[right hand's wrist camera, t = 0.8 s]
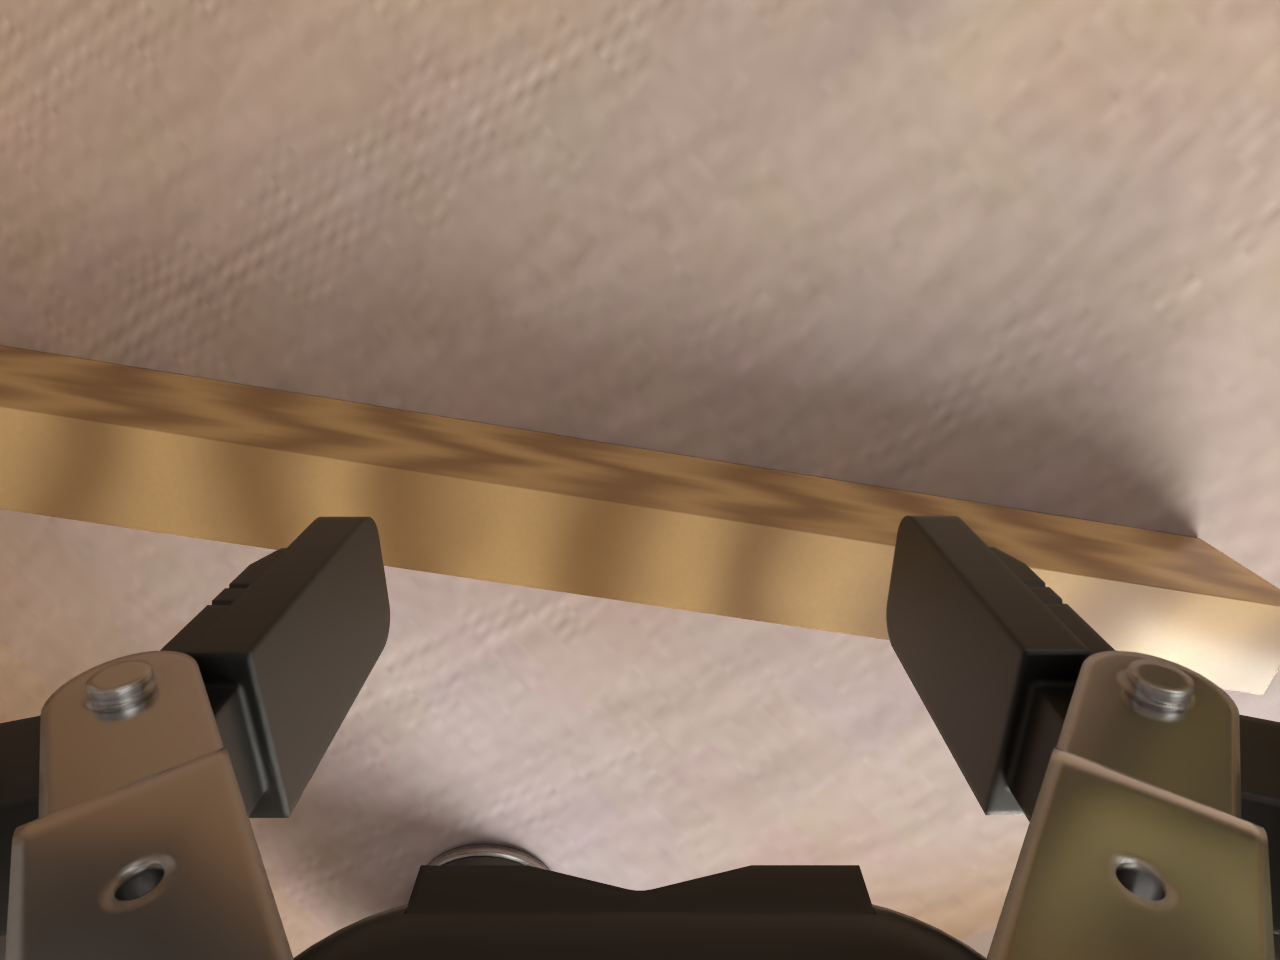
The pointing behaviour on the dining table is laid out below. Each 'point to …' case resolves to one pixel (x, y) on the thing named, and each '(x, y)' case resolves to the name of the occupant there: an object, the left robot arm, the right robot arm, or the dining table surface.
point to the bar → (576, 511)
